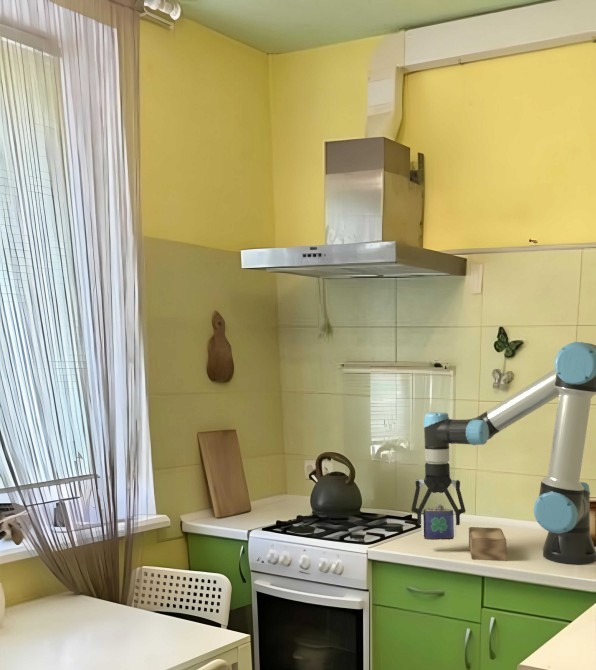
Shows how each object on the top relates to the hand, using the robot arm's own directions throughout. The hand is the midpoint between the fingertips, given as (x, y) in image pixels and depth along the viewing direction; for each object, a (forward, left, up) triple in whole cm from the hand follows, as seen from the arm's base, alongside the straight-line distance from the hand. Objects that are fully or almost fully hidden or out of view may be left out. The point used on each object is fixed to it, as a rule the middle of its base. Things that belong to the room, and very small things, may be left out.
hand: (438, 535), depth 233 cm
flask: (0, 0, -1) cm, 1 cm away
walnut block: (-15, 0, -5) cm, 15 cm away
